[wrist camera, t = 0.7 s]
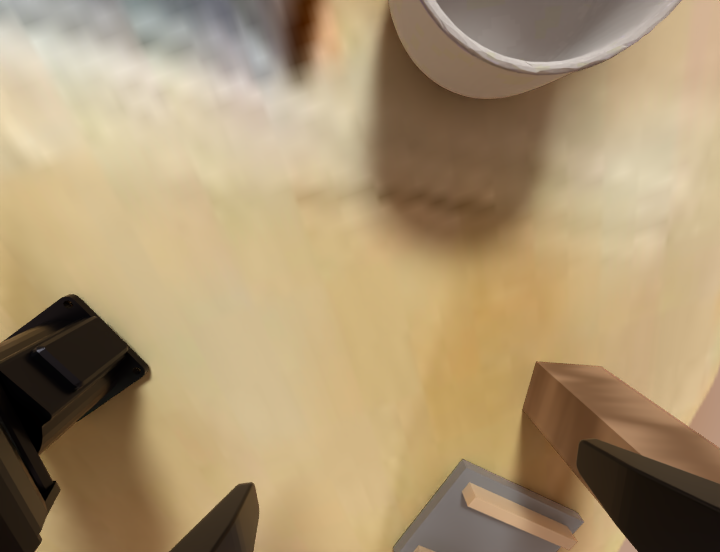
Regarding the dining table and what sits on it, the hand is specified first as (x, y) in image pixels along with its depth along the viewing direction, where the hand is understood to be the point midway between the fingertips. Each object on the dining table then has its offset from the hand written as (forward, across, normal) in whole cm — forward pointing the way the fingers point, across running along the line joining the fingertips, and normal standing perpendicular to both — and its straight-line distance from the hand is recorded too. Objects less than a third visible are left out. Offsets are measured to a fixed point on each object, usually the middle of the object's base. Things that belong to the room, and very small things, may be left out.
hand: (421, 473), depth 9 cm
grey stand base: (+13, +8, -21) cm, 26 cm away
